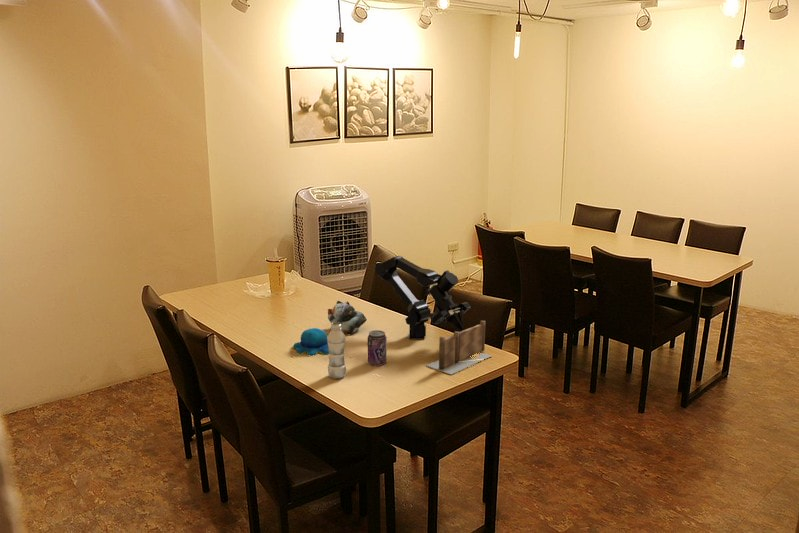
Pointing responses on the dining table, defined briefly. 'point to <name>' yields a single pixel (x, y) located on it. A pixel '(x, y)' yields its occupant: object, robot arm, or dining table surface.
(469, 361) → the card
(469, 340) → the fence panel
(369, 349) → the beverage can
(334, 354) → the plastic bottle
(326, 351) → the plush toy
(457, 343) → the fence fixed
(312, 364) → the dining table surface
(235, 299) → the dining table surface
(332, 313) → the grey stuffed animal
